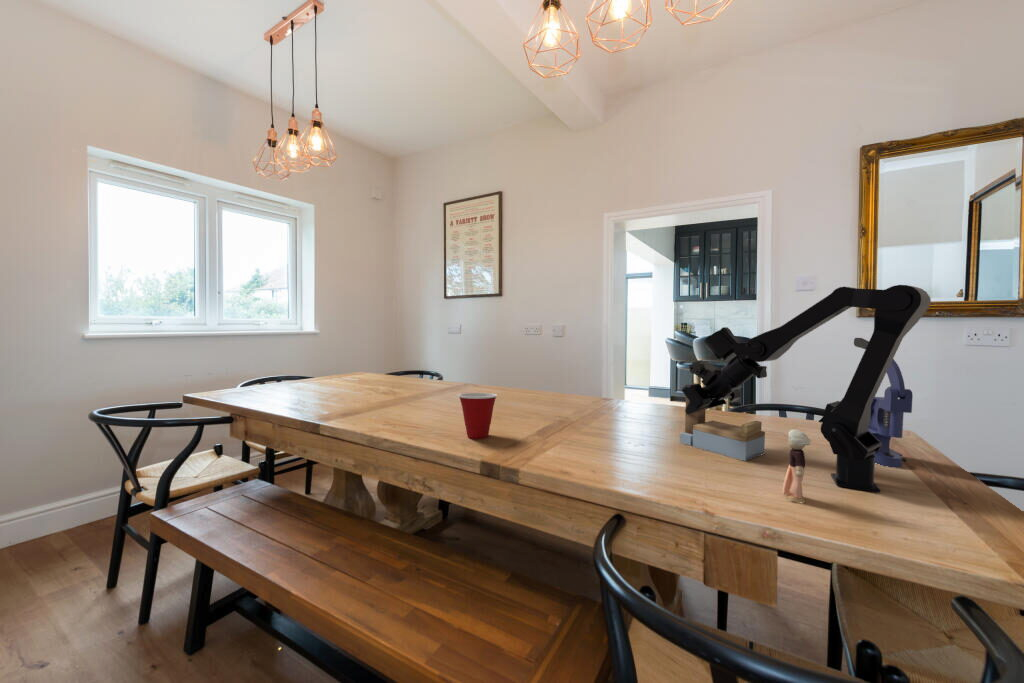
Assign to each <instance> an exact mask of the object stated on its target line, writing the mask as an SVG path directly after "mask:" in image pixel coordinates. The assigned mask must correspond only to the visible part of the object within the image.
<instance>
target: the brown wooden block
mask: <svg viewBox="0 0 1024 683" xmlns="http://www.w3.org/2000/svg"><path fill="white" fill-rule="evenodd" d="M689 402H690V401H689V399H688V398H687V397H686V396H685V409H686V408H687V406H688V404H689ZM684 413H685V419H684V420H685V422H684V433H688V434H692V435H693V425H696V424H701V423H705V422H706V410H705V409H703V410H700V411H696V412H693V413H690V414H687V413H686V412H685V411H684Z"/></svg>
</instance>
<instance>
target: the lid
mask: <svg viewBox="0 0 1024 683" xmlns="http://www.w3.org/2000/svg"><path fill="white" fill-rule="evenodd" d="M762 426H763V425H762V421H759V420H755V421H754V420H753V421H750V422H747V423H746V422H745V423H743V424H741V425H736V424H735V425H734V424H730V423H726V422H720V421H717V420H710V421H705V423H701V424H696V425H693V429H695V430H699V431H703V432H707V433H711V434H715V435H719V436H723V437H728V438H732V439H736V440H740V441H744V442H747V441H751V440H754V439H757V438H760V437H763V436H765V437H766V431H763V430H762Z"/></svg>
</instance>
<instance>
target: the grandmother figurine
mask: <svg viewBox="0 0 1024 683" xmlns="http://www.w3.org/2000/svg"><path fill="white" fill-rule="evenodd" d="M787 444H788V446H789V447H790V448H791V449H790V450H789V462H788V463H789V464H788V467H787V471H786V474H785V477H784V480H783V485H782V491H781V492H782V494H783V495H786V497H785V498H786V499H785V500H786V501H788V500H790V501H794V502H802V503H801V504H805V503H806V500H805V499H804V496H803V484H802V482H803V480H804V476H805V468H806V458H805V452H804V450H803V449H804V448H805V446H809V445H811V440H810V438H809V437H808V435H807V434H806V433H805V432H803V431H802V430H800V429H796V428H795V429H791V430H789V432H788V440H787ZM790 501H789V502H790ZM794 502H793V503H794ZM804 502H805V503H804Z"/></svg>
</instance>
